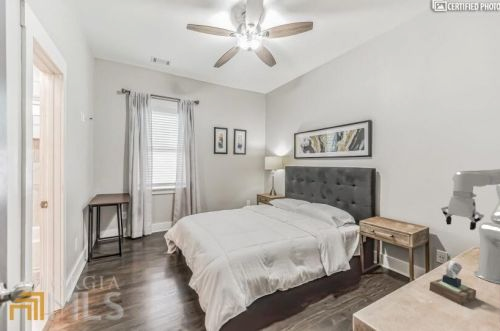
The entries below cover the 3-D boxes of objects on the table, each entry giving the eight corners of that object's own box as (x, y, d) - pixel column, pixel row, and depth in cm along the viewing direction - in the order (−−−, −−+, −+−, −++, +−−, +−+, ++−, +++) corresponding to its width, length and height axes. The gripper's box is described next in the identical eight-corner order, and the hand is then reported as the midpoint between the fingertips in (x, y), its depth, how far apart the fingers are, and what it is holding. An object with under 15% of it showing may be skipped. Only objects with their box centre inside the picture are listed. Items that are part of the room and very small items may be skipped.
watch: (462, 285, 107) (464, 262, 106) (454, 288, 103) (456, 265, 103) (448, 279, 112) (449, 257, 111) (440, 282, 108) (442, 260, 108)
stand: (444, 285, 114) (445, 276, 114) (475, 298, 104) (476, 289, 104) (429, 290, 109) (430, 281, 109) (460, 305, 98) (461, 295, 98)
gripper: (488, 197, 110) (485, 231, 111) (446, 192, 126) (444, 222, 126) (481, 197, 107) (478, 232, 108) (439, 192, 123) (436, 222, 123)
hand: (460, 226), depth 117 cm, fingers open, 9 cm apart
